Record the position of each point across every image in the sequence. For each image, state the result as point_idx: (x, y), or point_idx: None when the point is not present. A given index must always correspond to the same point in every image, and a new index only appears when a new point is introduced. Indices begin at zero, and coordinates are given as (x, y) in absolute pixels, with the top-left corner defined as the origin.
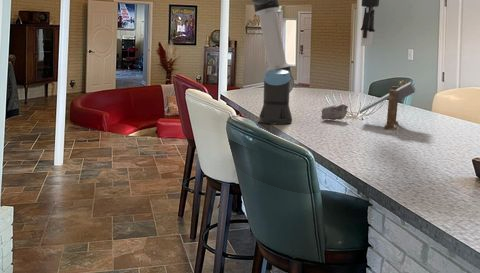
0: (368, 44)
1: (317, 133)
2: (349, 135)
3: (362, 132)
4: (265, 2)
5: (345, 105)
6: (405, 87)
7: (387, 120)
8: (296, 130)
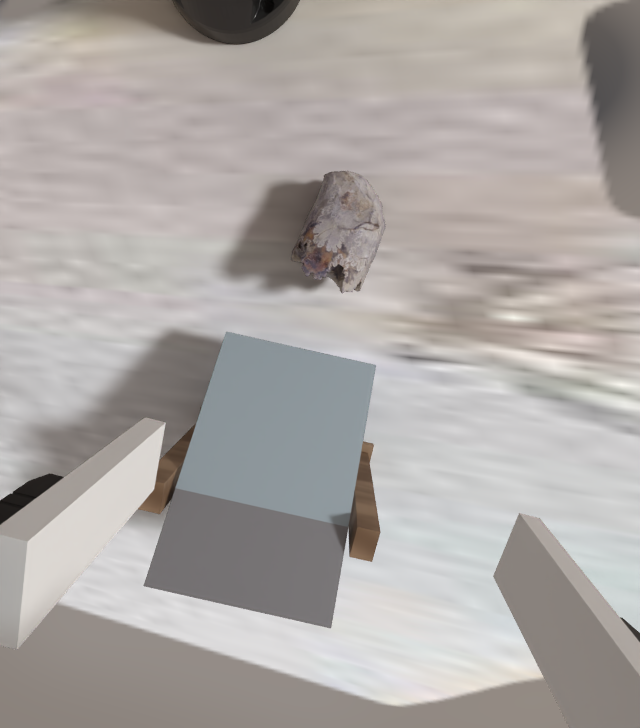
0: (514, 557)
1: (40, 163)
2: (48, 277)
3: (119, 326)
4: None
5: (314, 278)
6: (154, 556)
7: (194, 426)
8: (68, 77)
